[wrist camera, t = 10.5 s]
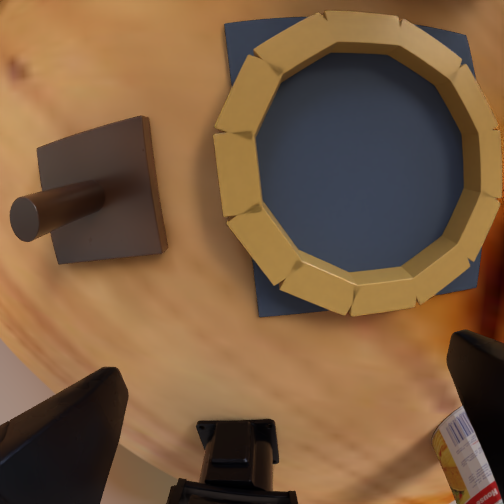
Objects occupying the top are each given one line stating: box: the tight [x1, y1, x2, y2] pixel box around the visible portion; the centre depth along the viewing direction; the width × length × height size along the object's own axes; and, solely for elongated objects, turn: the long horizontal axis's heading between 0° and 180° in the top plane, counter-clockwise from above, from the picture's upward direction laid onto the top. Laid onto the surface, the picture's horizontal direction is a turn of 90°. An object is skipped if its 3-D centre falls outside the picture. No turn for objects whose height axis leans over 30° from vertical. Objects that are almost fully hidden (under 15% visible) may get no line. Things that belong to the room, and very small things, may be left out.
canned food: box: [432, 406, 503, 504], centre depth 18 cm, size 8×8×12 cm
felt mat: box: [224, 17, 482, 317], centre depth 17 cm, size 18×16×1 cm
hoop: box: [213, 10, 502, 317], centre depth 15 cm, size 17×17×2 cm
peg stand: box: [10, 116, 168, 264], centre depth 14 cm, size 8×8×8 cm
